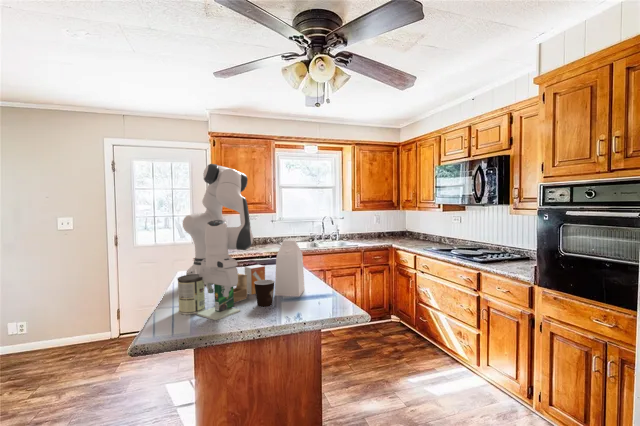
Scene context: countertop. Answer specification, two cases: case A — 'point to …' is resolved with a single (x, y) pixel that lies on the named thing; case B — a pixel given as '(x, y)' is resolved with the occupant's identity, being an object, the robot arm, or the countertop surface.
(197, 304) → the coffee can
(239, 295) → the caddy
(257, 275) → the small box
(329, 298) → the countertop surface
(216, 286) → the coffee box
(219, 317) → the sage green square tile
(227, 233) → the robot arm
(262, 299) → the coffee mug
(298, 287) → the milk
